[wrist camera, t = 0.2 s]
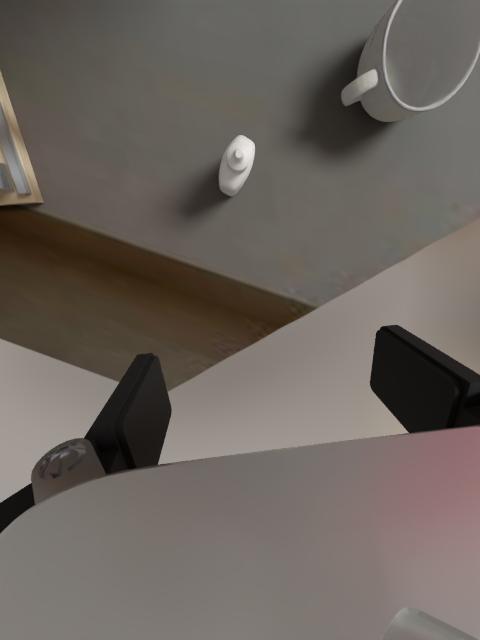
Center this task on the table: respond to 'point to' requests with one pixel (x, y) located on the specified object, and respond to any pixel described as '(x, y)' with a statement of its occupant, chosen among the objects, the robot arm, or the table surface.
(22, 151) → the board
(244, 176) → the eye dropper bottle
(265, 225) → the table surface
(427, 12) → the teacup
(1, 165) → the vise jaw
